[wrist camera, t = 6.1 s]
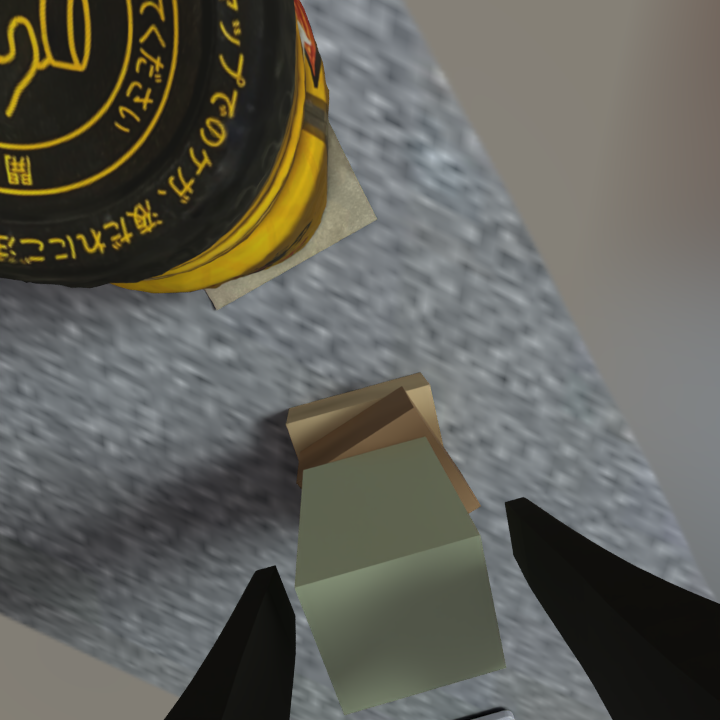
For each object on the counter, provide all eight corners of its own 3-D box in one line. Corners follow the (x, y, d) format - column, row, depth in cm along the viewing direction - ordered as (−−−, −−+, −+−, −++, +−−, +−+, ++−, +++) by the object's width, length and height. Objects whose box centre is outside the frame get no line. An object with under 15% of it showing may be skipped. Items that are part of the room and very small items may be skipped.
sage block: (448, 536, 15) (506, 667, 11) (336, 567, 15) (344, 715, 10) (425, 436, 14) (480, 535, 9) (303, 470, 14) (294, 588, 9)
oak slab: (442, 478, 20) (456, 506, 18) (326, 510, 20) (327, 542, 18) (417, 368, 18) (429, 384, 16) (290, 403, 18) (286, 424, 16)
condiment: (218, 309, 16) (-54, 469, 4) (76, 95, 14) (-1312, -763, 2) (376, 219, 16) (528, 140, 4) (259, -17, 13) (-192, -1886, 2)
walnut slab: (461, 474, 17) (480, 505, 15) (366, 532, 18) (371, 571, 15) (402, 385, 16) (413, 407, 14) (299, 452, 16) (296, 483, 14)
